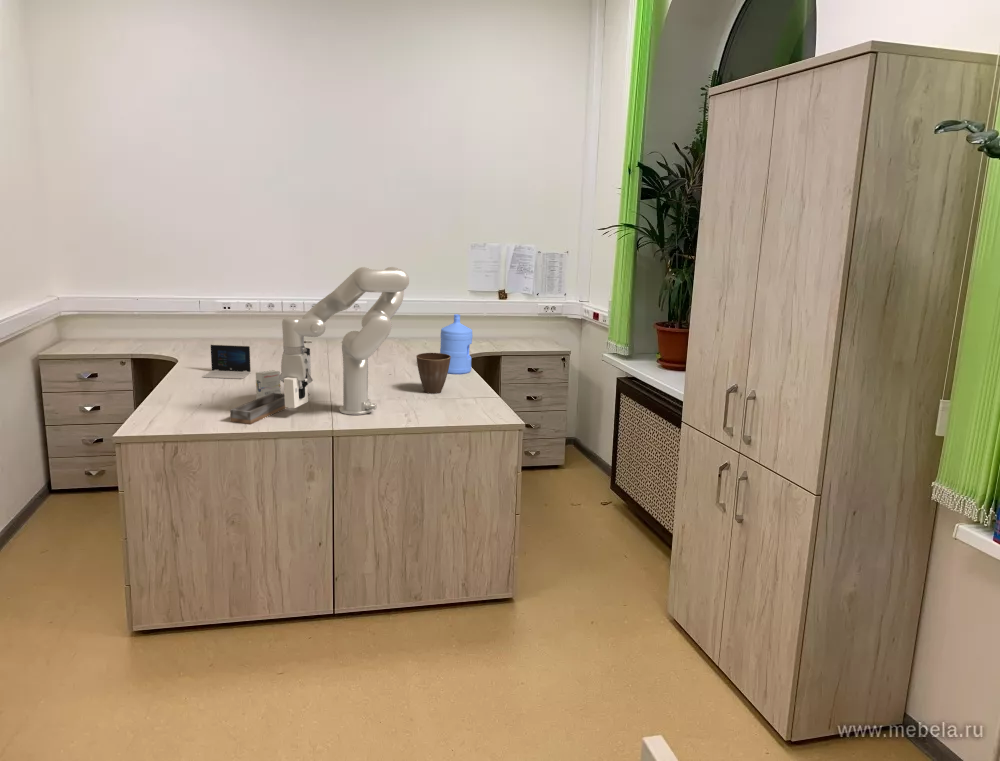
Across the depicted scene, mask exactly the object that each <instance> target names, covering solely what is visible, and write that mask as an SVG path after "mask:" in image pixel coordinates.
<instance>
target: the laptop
mask: <svg viewBox="0 0 1000 761" xmlns="http://www.w3.org/2000/svg"><path fill="white" fill-rule="evenodd" d="M250 347H251V346H250V345H229V344H228V345H227V344H226V345H225V344H210V360H211V361H210V362H211V363H210V364H211V370H210V371H209V372H208V373H206V374H204V375H202V376H201V377H202V378H205V379H228V380H229V379H230V380H233V379H234V380H242V379H244V378H246V377H247V376H249V375H250V374H251V371H252V370H251V369H252V368H251V348H250Z"/></svg>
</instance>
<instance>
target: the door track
mask: <svg viewBox="0 0 1000 761" xmlns="http://www.w3.org/2000/svg"><path fill="white" fill-rule="evenodd" d="M285 408H286V409H288V408H287V407H285V396H284V393H282V392H281V393H271V394H269V395H266V396H263V397H261V398H258V399H256V398H255V399H254V400H251V401H249V402H246V403H244V404H241V405H238V406H236V407H233V408H231V409H230V410H229V413H230V422H233V423H238V424H244V425H245V424H246V425H252V424H254V423H256V422H259V421H262V420H263V418H264V419H266V418H268V417H270V416H272V415H271V414H273V415H275V414H277V413H279V412H282V411H283V409H284V410H286V409H285ZM281 410H282V411H281ZM278 411H279V412H278ZM276 412H277V413H276ZM274 413H275V414H274ZM269 415H270V416H269ZM267 416H268V417H267ZM265 417H266V418H265Z"/></svg>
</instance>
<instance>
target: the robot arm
mask: <svg viewBox="0 0 1000 761" xmlns="http://www.w3.org/2000/svg"><path fill="white" fill-rule="evenodd" d="M409 284H410V277H409V275H408V274H407V272H406V271H404V270H403V269H400V268H398V267H395V266H389V267H386V268H385V269H371V268H369V267H365V266H362V267H358V268H357V269H356V270H354V271H353V272H352V273H351V274H349V276H348V277H346V278H345V279H344V280H343V281H342V282H341V283H340V284H339V285H338V286H337V287H336V288H335V289H334V290H333V291H331V292H330V293H329V294H328V295H326V296H325V297H323V298H322V299H321V300H319V301H318V302H317V303H315V304H314V305H313V306H312V307H311V308H310V309H309V310H308V311H307V312H306V313H305V314H304V315H303V317H298V316H288V317H284V318H282V321H281V326H282V343H283V344H282V346H283V352H284V353H283V352H282V354H281V364H280V367H281V368H280V371H281V372H280V376H279V379H280V382H282V383H283V384H284V378H287V377H292V378H297V380H298V382H299V386H300V389H299V399H302V398H304V397H305V387H306V386H307V385H309V384H311V383H312V382H313V380H314V379H313V378H312V376H310V366H309V361H308V357H307V354H306V353H305V352H307V348H308V347H305V337H307V338H318V337H320V336H322V335H323V334H324V333H325V331H326V323H325V322H327V321H328V320H329V319H330V318H332V316H334V315H336V314H337V313H339V312H343V311H346V310H349V309H350V307H351V306H352V305H354V304H355V303H356V302H357V301H358V300H359V299H360V298H361V297H362V296H363V295H365V293H381V294H380V296H379V297H378V299H377V300H376V301H375V303H374V304H373V305H372V306H371V307H370V308H369V310H368V311H366V313H364V315H363V317H362V319H361V327H362V328H361V329H360V330H352V331H349V332H347V333H346V334H345V335H344V336H343V338H342V341H341V353H342V365H343V366H342V369H343V370H342V371H343V372H342V374H343V375H342V376H343V377H342V382H343V384H342V392H343V394H342V395H343V396H342V397H343V398H342V400H343V401H342V402H343V404H342V405H341V406H340V407H339V408H338V409H339V412H340V413H342V414H344V415H352V416H354V415H355V416H358V415H365V414H369V413H371V412H372V411H373V410H374V411H375V410H377V408H378V406H377V403H372V402H371V399H370V398H369V358H370V357H372V356H373V355H374V353H375V352H376V351H377V350H378V349H379V347H381V345H382V344H383V343H384V341H386V339H387V338H388V336H389V335H390V333H391V330H392V326H393V325H392V321H391V319H392V318H393V317H394V315H395V314H396V313H397V312H398V310H399V309H400V307H401V306H402V303H403V301H404V295H405V294H404V293H405V292H404V291H405V290H406V289H407V288H408V286H409ZM305 379H307V381H306V382H305ZM310 382H311V383H310Z"/></svg>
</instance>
